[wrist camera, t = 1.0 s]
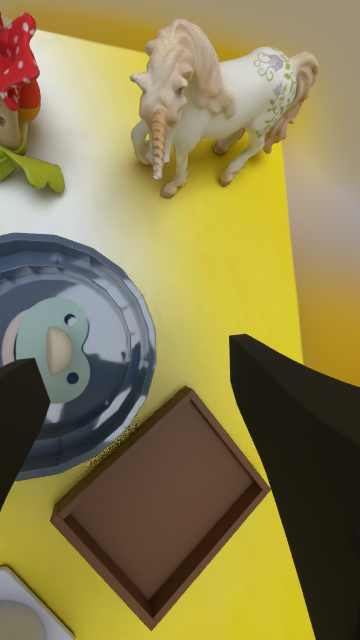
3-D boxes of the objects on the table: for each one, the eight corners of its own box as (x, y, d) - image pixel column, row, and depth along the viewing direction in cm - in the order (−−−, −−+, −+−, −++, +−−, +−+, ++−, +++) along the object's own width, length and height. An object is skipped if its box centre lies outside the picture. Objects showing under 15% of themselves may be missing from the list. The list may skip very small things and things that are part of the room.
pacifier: (6, 403, 20) (92, 393, 21) (-39, 430, 14) (85, 413, 15) (3, 304, 20) (88, 301, 22) (-42, 287, 14) (79, 285, 16)
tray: (146, 606, 21) (151, 632, 20) (54, 504, 20) (49, 521, 18) (258, 478, 25) (271, 489, 23) (185, 385, 24) (192, 389, 22)
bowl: (26, 495, 20) (6, 537, 16) (-122, 334, 18) (-191, 331, 14) (180, 362, 24) (197, 366, 20) (69, 220, 22) (62, 191, 18)
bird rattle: (-15, 136, 23) (-32, 211, 19) (-98, -97, 14) (-167, -47, 10) (65, 146, 25) (65, 216, 21) (41, -53, 15) (32, 4, 11)
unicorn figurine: (68, 201, 22) (25, 12, 10) (226, 99, 28) (335, -112, 15) (126, 269, 23) (157, 179, 10) (268, 158, 28) (406, 7, 16)
